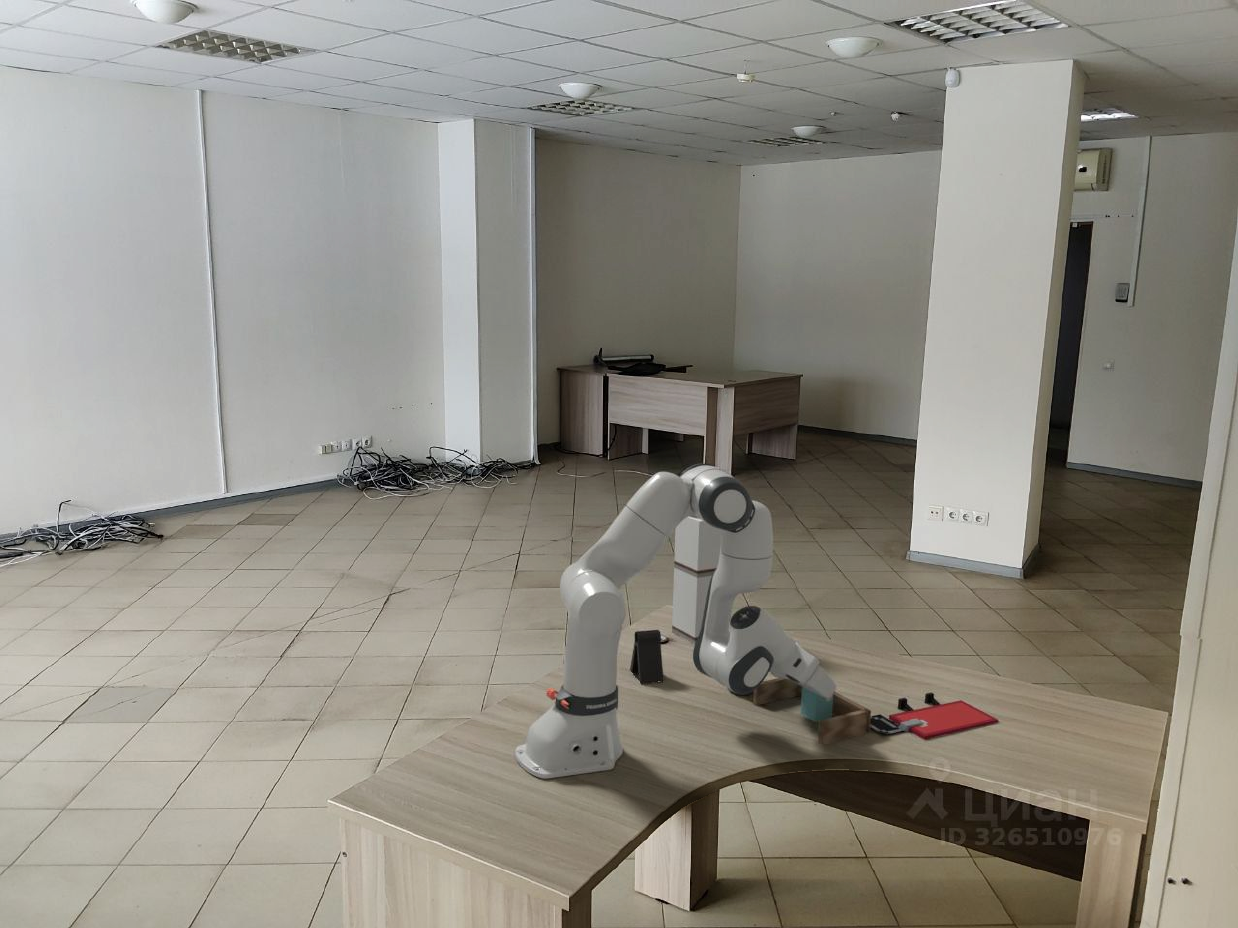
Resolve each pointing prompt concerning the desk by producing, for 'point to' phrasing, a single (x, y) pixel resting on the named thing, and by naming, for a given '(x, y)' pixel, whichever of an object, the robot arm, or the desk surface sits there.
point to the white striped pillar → (693, 574)
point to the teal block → (815, 706)
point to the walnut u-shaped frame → (844, 725)
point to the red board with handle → (932, 718)
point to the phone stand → (647, 657)
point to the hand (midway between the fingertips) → (814, 690)
